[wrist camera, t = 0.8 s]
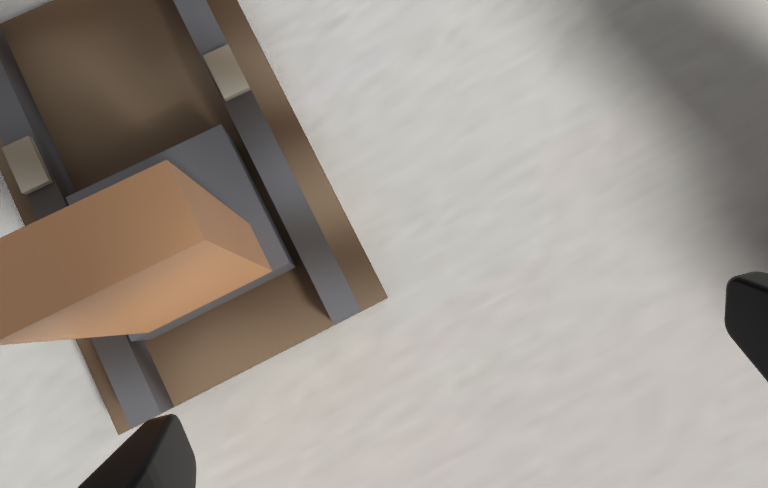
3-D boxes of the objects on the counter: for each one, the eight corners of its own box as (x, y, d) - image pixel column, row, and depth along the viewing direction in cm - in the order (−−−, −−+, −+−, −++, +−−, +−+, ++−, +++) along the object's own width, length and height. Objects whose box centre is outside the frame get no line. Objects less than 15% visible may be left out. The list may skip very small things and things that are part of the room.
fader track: (386, 298, 25) (389, 296, 22) (133, 427, 24) (97, 445, 21) (212, -45, 27) (191, -95, 24) (-30, 63, 26) (-88, 26, 23)
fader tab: (296, 267, 23) (234, 225, 12) (151, 339, 23) (-45, 361, 12) (233, 139, 24) (121, -7, 13) (90, 207, 23) (-150, 113, 13)
